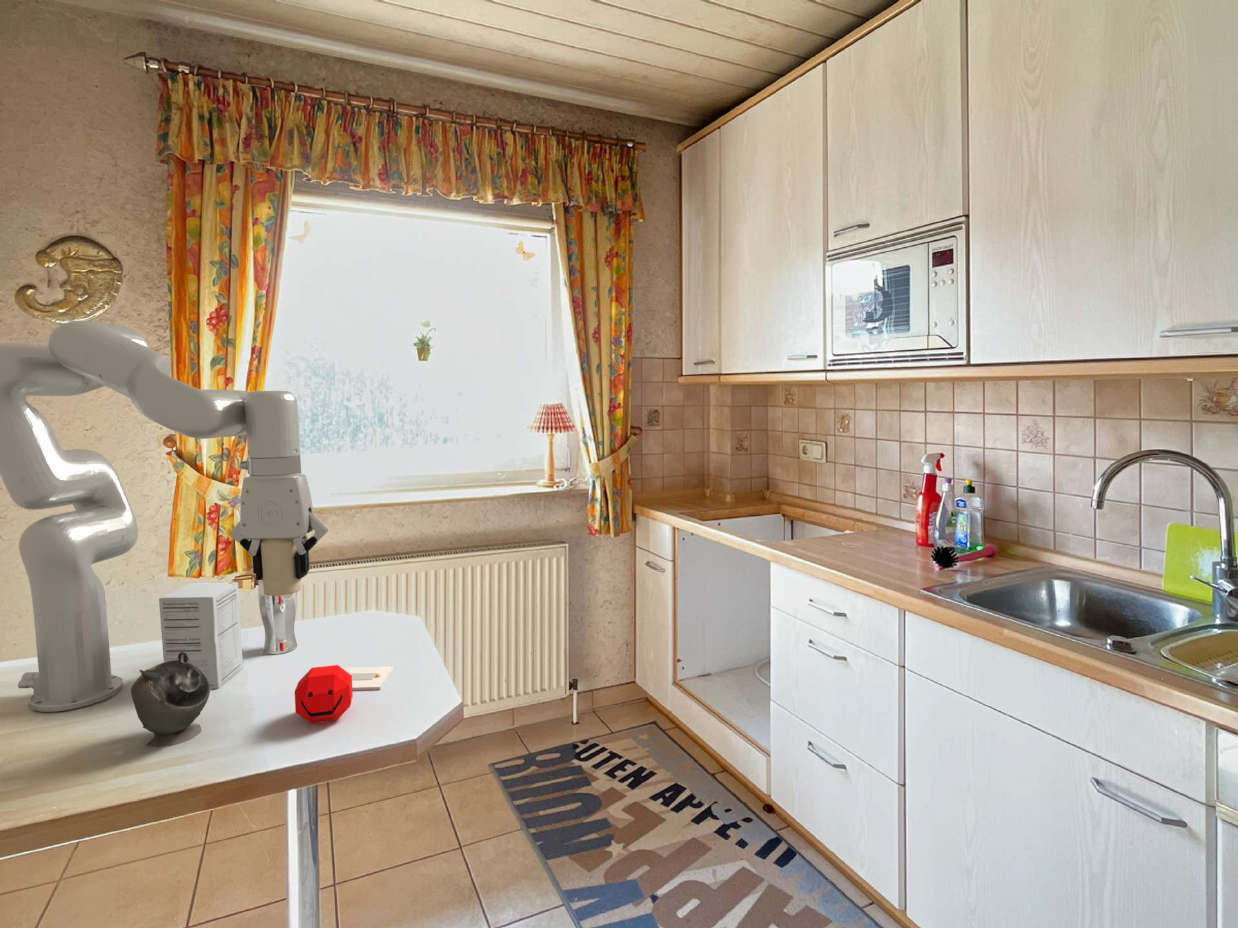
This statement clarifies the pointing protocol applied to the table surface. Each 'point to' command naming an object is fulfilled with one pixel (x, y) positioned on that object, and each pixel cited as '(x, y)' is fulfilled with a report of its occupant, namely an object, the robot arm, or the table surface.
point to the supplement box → (204, 629)
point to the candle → (279, 567)
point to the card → (369, 677)
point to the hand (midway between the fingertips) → (282, 576)
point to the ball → (323, 694)
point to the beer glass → (278, 621)
